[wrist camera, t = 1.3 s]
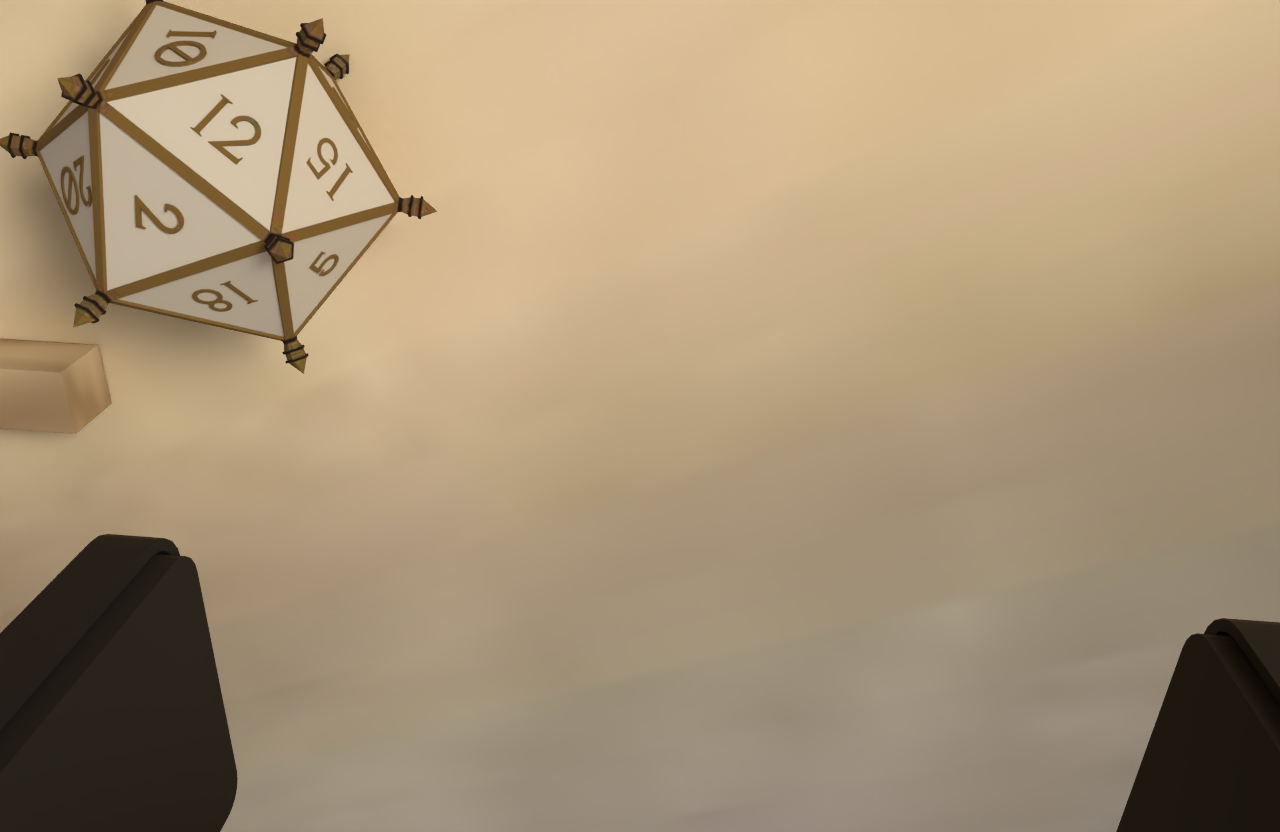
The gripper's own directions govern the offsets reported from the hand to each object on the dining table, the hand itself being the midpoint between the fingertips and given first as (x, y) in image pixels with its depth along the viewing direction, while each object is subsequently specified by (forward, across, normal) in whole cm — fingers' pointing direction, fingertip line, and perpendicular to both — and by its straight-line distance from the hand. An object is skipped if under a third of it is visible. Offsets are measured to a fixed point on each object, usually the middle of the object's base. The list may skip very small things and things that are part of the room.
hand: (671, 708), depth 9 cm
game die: (+21, +12, 0) cm, 24 cm away
